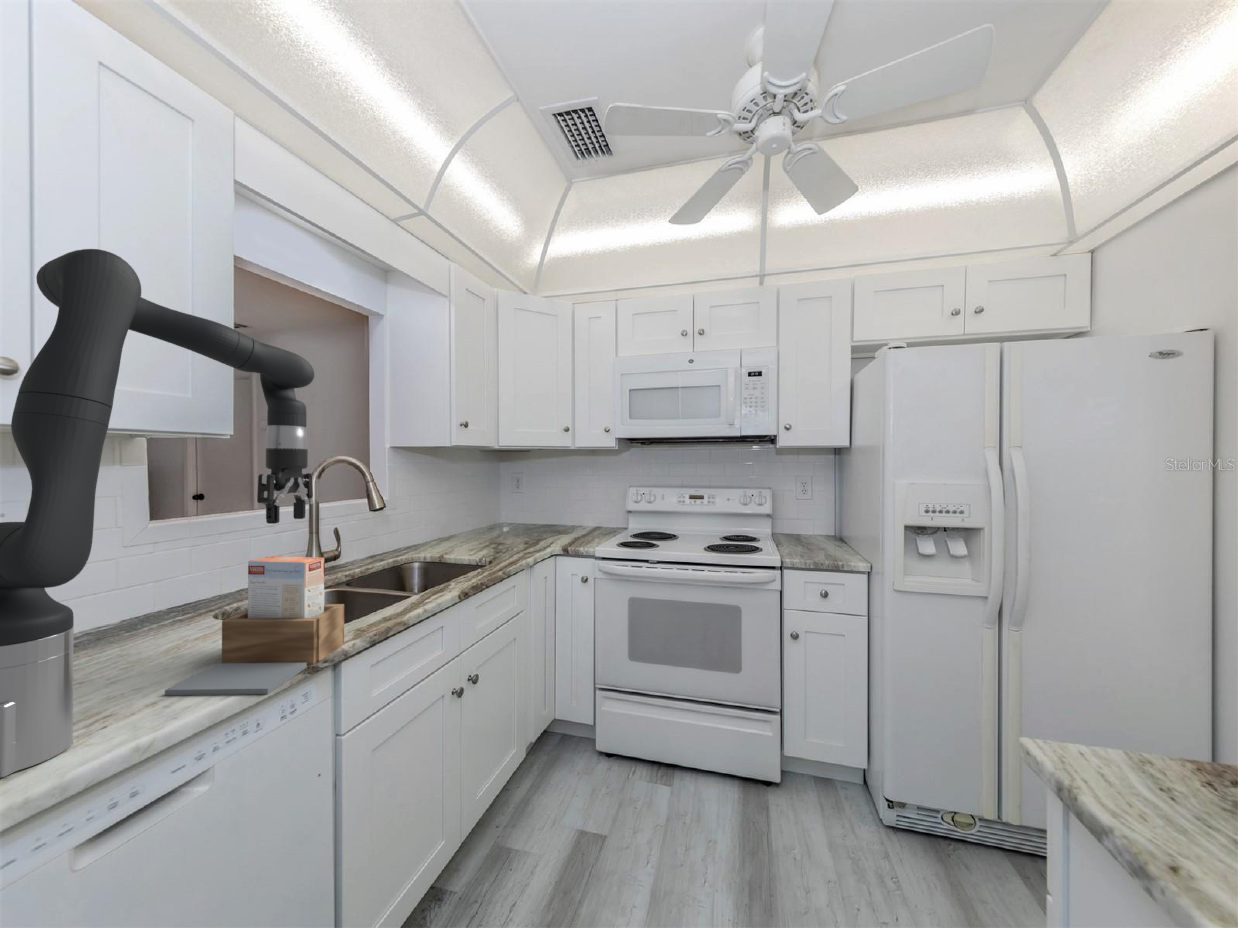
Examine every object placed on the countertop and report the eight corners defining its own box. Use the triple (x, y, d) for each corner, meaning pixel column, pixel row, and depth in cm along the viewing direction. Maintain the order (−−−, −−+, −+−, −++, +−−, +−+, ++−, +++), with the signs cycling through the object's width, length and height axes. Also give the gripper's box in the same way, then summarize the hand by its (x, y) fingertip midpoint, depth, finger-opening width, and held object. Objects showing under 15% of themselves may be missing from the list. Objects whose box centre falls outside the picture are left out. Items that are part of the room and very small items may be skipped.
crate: (315, 663, 97) (315, 620, 97) (219, 664, 96) (220, 621, 96) (345, 642, 108) (346, 604, 108) (260, 643, 107) (260, 604, 107)
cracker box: (325, 649, 104) (326, 556, 104) (303, 661, 98) (303, 562, 98) (270, 645, 106) (271, 554, 106) (245, 656, 100) (246, 559, 100)
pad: (267, 694, 84) (267, 688, 84) (164, 695, 83) (164, 689, 83) (306, 667, 95) (306, 662, 95) (215, 668, 94) (216, 663, 94)
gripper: (282, 446, 95) (281, 525, 95) (324, 448, 109) (323, 517, 109) (244, 445, 95) (244, 525, 95) (291, 448, 109) (291, 517, 109)
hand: (286, 520), depth 102 cm, fingers open, 8 cm apart
